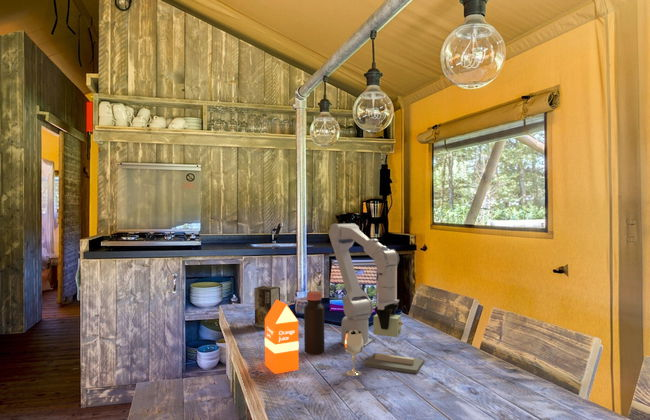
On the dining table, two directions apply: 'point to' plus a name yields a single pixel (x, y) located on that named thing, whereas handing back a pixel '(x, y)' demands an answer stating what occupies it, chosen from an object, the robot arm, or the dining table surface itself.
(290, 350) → the orange juice
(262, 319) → the coffee box
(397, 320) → the cabinet block
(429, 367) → the dining table surface
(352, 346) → the wineglass
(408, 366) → the cleat board
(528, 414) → the dining table surface
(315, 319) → the bottle
